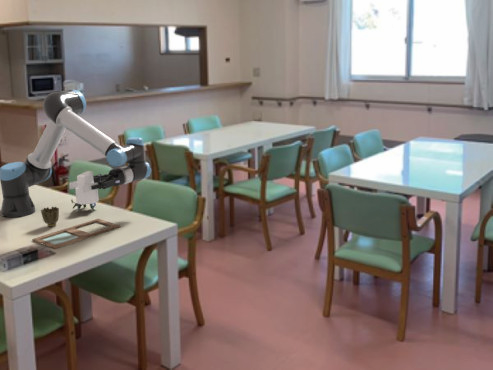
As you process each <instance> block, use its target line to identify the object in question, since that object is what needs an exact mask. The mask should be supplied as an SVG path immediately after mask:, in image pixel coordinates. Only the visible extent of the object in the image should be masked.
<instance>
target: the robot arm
mask: <svg viewBox="0 0 493 370" xmlns="http://www.w3.org/2000/svg"><path fill="white" fill-rule="evenodd" d="M42 109H43V111H44V114H45V116H46V117H47V118H48V122H47V123H46V125H45V128H44V130H43V133H42V134H41V136H40V138H39V140H38V142H37V145H35V148H34V151H33V152H31V153H29V154H28V155H27V157H26V159H25V161H23V162H22V161H14V162H9V163H6V164H4V165H2V166H1V167H0V186H1V187H0V188H1V192H2V193H1V194H2V203H1V207H0V213H1V214H0V215H1V216H2V215H3V216H7V217H6V218H19V217H18V216H21V217H25V215H26V216H29V215H32V214H34V213H35V212H36V206H35V204H34V201H33V200H32V198H31V196H30V191H29V189H30V187H33V186H36V185H38V184H41V183H44V182H45V181H47V180H49V179H50V177H51V176H52V172H53V169H52V161H51V160H52V158H53V156H54V154H55V152H56V151H57V148H58V146H59V145H60V142H61V141H62V139H63V136H64V134H65V133H66V131H67V130H68V131H69V132H71V133H72V134H74V135H75V136H76V137H78V138H79V139H80V140H82V141H84V142H85V143H86V144H87V145H88V146H90V147H92V148H94V150H95V151H97V152H99V153H101V155H103V156H105V157H106V161H107V163H108V164H109V166H111V167H115V168H114V169H113V168H112V169H110V170H109V172H108V174H107V173H106V174H103V175H102V174H101V173H99V174H96V175H93V179H94V183H92V184H89V185H85V186H83V191H84V193H85V192H89V191H93V190H96V189H98V190H101V189H102V190H106V189H109V188H111V187H119V186H122V185H128V184H130V183H132V182H137V181H141V180H144V179H147V178H148V177H150V175H151V173H152V168H151V165H150V163H148V162H147V161H146V160H145V145H144V139H143V138H142V137H139V136H132V137H127V138H126V140H125V144H124V145H121V144H119V143H118V142H116V141H114V140H113V139H112V138H111V137H109V136H108V135H106V134H105V133H103V132H102V131H100V130H99V129H98V128H96V127H95V126H93V125H92V124H91V123H89V122H88V121H86V120H85V119H84V118H83V117H81V116H79V115H81V114H83V113H84V112H85V110H86V109H87V101H86V98H85V96H84V94H83V93H82V92H81V91H79V90H77V89H65V90H61V91H53V92H50V93H49V94H48V95H46V97H45V98H44V99H43V102H42ZM127 163H128V165H125V164H127ZM124 165H125V166H124ZM68 186H69V190H73V189H74V190H75V188H76V187H78V182H77V180H76V181H75V180H73V181H70V182H68ZM33 212H34V213H33ZM3 216H2V217H3Z"/></svg>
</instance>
